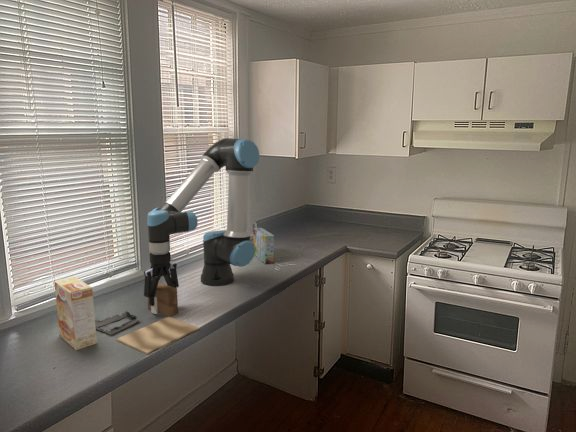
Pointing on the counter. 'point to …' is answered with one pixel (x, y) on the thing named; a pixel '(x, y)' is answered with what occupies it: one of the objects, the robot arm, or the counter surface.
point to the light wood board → (157, 335)
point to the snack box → (263, 245)
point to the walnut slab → (166, 300)
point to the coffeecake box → (75, 312)
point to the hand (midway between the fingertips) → (162, 309)
